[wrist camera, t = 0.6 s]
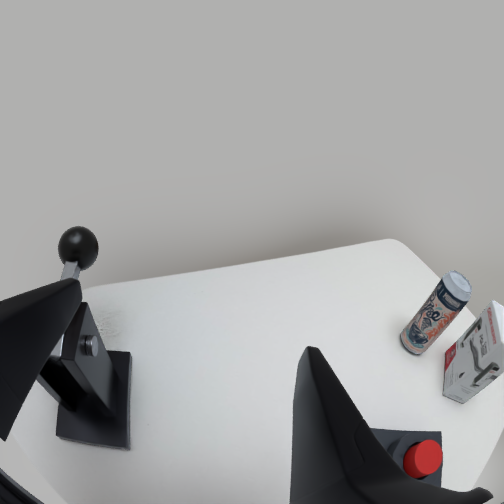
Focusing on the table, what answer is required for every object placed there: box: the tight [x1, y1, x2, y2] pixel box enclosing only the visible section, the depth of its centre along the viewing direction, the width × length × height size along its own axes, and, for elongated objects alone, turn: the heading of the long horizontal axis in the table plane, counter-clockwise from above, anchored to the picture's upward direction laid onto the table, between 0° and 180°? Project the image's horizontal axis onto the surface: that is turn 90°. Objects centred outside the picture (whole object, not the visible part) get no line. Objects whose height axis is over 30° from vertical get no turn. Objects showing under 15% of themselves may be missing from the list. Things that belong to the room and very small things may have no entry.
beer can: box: [401, 271, 472, 354], centre depth 29 cm, size 5×5×12 cm
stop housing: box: [370, 428, 443, 487], centre depth 16 cm, size 10×8×4 cm
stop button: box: [403, 440, 442, 478], centre depth 14 cm, size 4×4×2 cm
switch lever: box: [46, 226, 98, 367], centre depth 16 cm, size 11×4×4 cm, turn 11°
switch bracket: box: [36, 302, 132, 450], centre depth 16 cm, size 10×7×12 cm
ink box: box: [443, 300, 504, 403], centre depth 24 cm, size 9×5×12 cm, turn 149°
